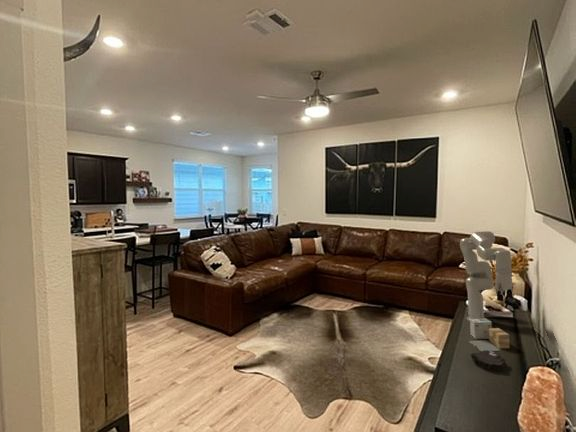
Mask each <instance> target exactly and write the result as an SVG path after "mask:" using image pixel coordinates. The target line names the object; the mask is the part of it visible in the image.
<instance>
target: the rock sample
mask: <svg viewBox="0 0 576 432" xmlns="http://www.w3.org/2000/svg"><path fill="white" fill-rule="evenodd" d="M470 358H471V359H472V362H473V364H474V366H476V367H477V368H480V369H483V370H486V371H489V372H493V373H496V372H502V371H505V370H506V364H507V363H506V359H505V358H504V357H501V355H500V354H499V353H498V352H497V351H488V350H484V351H482V352H481V351H479V352H472V353H471V354H470Z"/></svg>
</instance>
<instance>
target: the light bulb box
mask: <svg viewBox="0 0 576 432" xmlns="http://www.w3.org/2000/svg"><path fill="white" fill-rule="evenodd" d="M469 325H470V326H469V328H470V336H471V335H472V336H473V337H474V338H473V337H472V336H471V337H472V338H473V339H475V340H477V339H478V340H481V339H482V340H487V339H488V340H489V329H490V328H493V327H492V321H491V320H489V319H487V318H486V319H470V321H469Z"/></svg>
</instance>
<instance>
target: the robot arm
mask: <svg viewBox="0 0 576 432" xmlns="http://www.w3.org/2000/svg"><path fill="white" fill-rule="evenodd" d="M495 241H496V237H495V234H494V232H492V231H488V230H487V231H475V232H473V233H470V237H464V238H462V239H460V241H459V248H460V250H461V252H462V253H461V254H462V256H463V259H464V265H465V271H466V274H468V275H469V274H470V275H480V277H469V276H468V277H466V279H465V287H466V291H467V292H466V293H467V302H468V303H467V304H468V311H467V314H468V316H466V320H467V321H469V322H470V319H487V318H486V317H485V313H484V312H485V311H484V296H483V294H482V292H481V293H480V292H479V290H482V291H489V290H490V291H491V290H493V289H494V290H495V293H496V300H497V301H499V302H504V295H503V293H504V292H505V291H506V292H505V293H506V297H507V298H510V299H513V298H514V297H513V296H514V295H513V289H514V282H513V276H512V257H511V256H512V255H511V251H509V250H507V249H506V248H503V247H493V244H494V243H495ZM492 247H493V248H492ZM474 250H476V252H475V251H474ZM478 257H479V258H480V259H481V260H479V259H478ZM490 261H495V270H496V271H495V273H496V274H495V280H494V279H493V272H492V271H493V270H492V268H491V267H492V266H491V265H490ZM481 275H482V276H481ZM494 283H495V284H494Z"/></svg>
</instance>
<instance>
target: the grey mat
mask: <svg viewBox="0 0 576 432" xmlns="http://www.w3.org/2000/svg"><path fill="white" fill-rule="evenodd" d="M468 342H469V343H470V344H471V345H472V344H473V345H474V346H473V345H472V346H473V347H475V346H477V348H478V349H479V350H478V349H477V348H476V349H477V350H478V351H479V352H482V351H484V350H488V351H492V352H500V351H501V349H500V348H498V347H496V346H495V345H494V344H492V343H491V342H490V341H489V340H487V339H482V340H481V339H480V340H468Z"/></svg>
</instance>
